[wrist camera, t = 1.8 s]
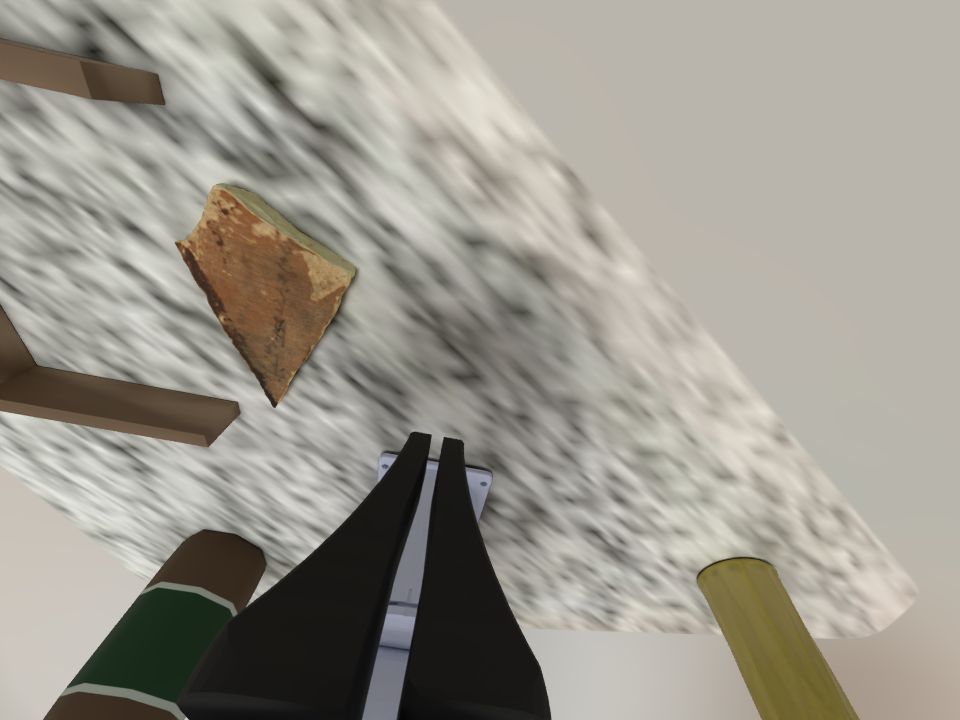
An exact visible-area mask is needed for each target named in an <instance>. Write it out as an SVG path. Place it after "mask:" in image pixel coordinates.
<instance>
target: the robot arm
mask: <svg viewBox="0 0 960 720" xmlns="http://www.w3.org/2000/svg"><path fill="white" fill-rule="evenodd" d="M431 437H432V435H430V434H425V433H419V432H412V433H411V434H410V436H409V438H408V440H407V442H406V444H405V445H404V447H403V449H402V450H401V452H400V453H399V455H395V454H389V453H383V454H381V455H380V458H379V463H378V483H377V485H376V486H375V487H374V489H373V490H372V491H371V492H370V493H369V495H368V496H367V497H366V498H365V499H364V501H363V502H362V503H361V504H360V505H359V506H358V507H357V509H356V510H355V511H354V512H353V513H352V514H351V515H350V516H349V517H348V518H347V519H346V520H345V521H344V522H343V524H342V525H341V526H340V527H339V528H338V529H337V530H336V531H335V532H334V533H333V534H332V535H330V536H329V537H328V538H327V539H326V540H325V541H324V542H323V543H322V544H321V545H320V546H319V547H318V548H317V549H316V550H315V551H314V552H313V553H312V554H310V555H309V556H308V557H307V558H306V559H305V560H304V561H302V562H301V563H300V564H299V565H298V566H297V567H295V568H294V569H293V570H292V571H291V572H290V573H288V574H287V575H286V576H285V577H284V578H283V579H281V580H280V581H279V582H278V583H277V584H275V585H274V586H273V587H272V588H270V589H269V590H268V591H267V592H265V593H264V594H263V595H261V596H260V597H259V598H257V599H256V600H255V601H254V602H252V603H251V604H250V605H248V606H247V607H246V608H244V609H243V610H242V611H241V612H239V613H238V614H237V615H235V616H234V617H233V618H231V619H230V620H229V621H228V622H227V624H226V625H225V626H224V627H223V629H222V630H221V631H220V632H219V634H218V635H217V636H216V637H215V639H214V640H213V642H212V643H211V644H210V646H209V647H208V649H207V650H206V651H205V653H204V654H203V656H202V657H201V659H200V660H199V662H198V663H197V665H196V667H195V669H194V671H193V672H192V674H191V676H190V678H189V679H188V681H187V683H186V685H185V686H184V688H183V690H182V692H181V694H180V695H179V697H178V699H177V705H178V708H179V710H180V711H181V712H182V713H183V714H184V715H185V716H186V717H187V718H188V719H189V720H551V712H550V706H549V700H548V696H547V691H546V686H545V682H544V679H543V674H542V671H541V667H540V665H539V663H538V661H537V659H536V658H535V656H534V654H533V652H532V650H531V648H530V647H529V645H528V643H527V641H526V639H525V637H524V635H523V633H522V631H521V629H520V627H519V625H518V623H517V621H516V619H515V617H514V615H513V613H512V611H511V609H510V607H509V604H508V602H507V600H506V597H505V595H504V593H503V591H502V588H501V586H500V584H499V581H498V579H497V577H496V574H495V572H494V569H493V567H492V564H491V561H490V559H489V556H488V553H487V551H486V548H485V545H484V542H483V539H482V536H481V533H480V529H479V526H478V521H479V518H480V515H481V512H482V509H483V506H484V503H485V500H486V497H487V494H488V491H489V488H490V485H491V482H492V474H491V473H490V472H488V471H484V470H479V469H473V468H468V467H465V460H464V443H463V441H462V440H458V439H452V438H447V437H444V439H443V444H442V449H441V454H440V459H439V462H434V461H428V455H429V449H430V443H431Z"/></svg>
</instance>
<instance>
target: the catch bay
mask: <svg viewBox="0 0 960 720" xmlns="http://www.w3.org/2000/svg"><path fill="white" fill-rule="evenodd" d="M0 79H3V80H7V81H12V82H16V83H21V84H25V85H30V86H34V87H39V88H44V89H48V90H53V91H57V92H62V93H66V94H71V95H75V96H80V97H84V98H89V99H95V100H108V101H120V102H133V103H145V104H158V105H165V104H164V100H163V96H162V92H161V88H160V84H159V80H158V76H157V74H155V73H150V72H146V71H142V70H137V69H133V68H128V67H124V66H119V65H115V64H111V63H106V62H102V61H97V60H93V59H89V58H84V57H80V56H75V55H71V54H67V53H62V52H58V51H53V50H49V49H45V48H40V47H36V46H31V45H27V44H23V43H18V42H14V41H9V40H5V39H1V38H0ZM0 411H3V412H9V413H15V414H21V415H26V416H32V417H38V418H43V419H49V420H55V421H61V422H66V423H72V424H78V425H83V426H89V427H95V428H101V429H106V430H112V431H118V432H123V433H129V434H135V435H141V436H146V437H152V438H158V439H163V440H169V441H175V442H181V443H186V444H192V445H198V446H203V447H209V446H210V445H211V444H212V443H213V442H214V441H215V440H216V439H217V438H218V437H219V435H220V434H221V433H222V432H223V431H224V430H225V429H226V428H227V427H228V426H229V425H230V424H231V423H232V422H233V421H234V420H235V419H236V417H237V416H238V415H239V414H240V411H239V407H238V403H237V402H233V401H227V400H222V399H216V398H211V397H205V396H200V395H194V394H189V393H183V392H178V391H172V390H167V389H161V388H156V387H150V386H145V385H139V384H134V383H128V382H123V381H117V380H112V379H106V378H101V377H95V376H90V375H84V374H79V373H73V372H68V371H62V370H57V369H51V368H46V367H40V366H37V365H36V364H35V362H34V360H33V359H32V357H31V356H30V354H29V352H28V351H27V349H26V347H25V346H24V344H23V342H22V341H21V339H20V337H19V336H18V334H17V333H16V331H15V329H14V328H13V326H12V324H11V323H10V321H9V319H8V318H7V316H6V314H5V313H4V311H3V309H2V308H1V306H0Z"/></svg>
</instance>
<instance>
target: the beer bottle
mask: <svg viewBox="0 0 960 720" xmlns="http://www.w3.org/2000/svg"><path fill="white" fill-rule="evenodd" d="M265 565H266V564H265V561H264V558H263V554H262V551H261V549H259V548H257V547H256V546H254V545H252V544H251V543H249V542H247V541H246V540H244V539H242V538H240V537H239V536H237V535H234V534H227V533H221V532H214V531H208V530H204V531H202V532H200V533H198V534H196V535H194V536H192V537H190V538H188V539H187V540H185V541H184V542H183V543H182V544H181V545H180V546H179V547H178V548H177V550H176V551H175V552H174V553H173V554H172V555H171V556H170V558H169V559H168V560H167V561H166V562H165V564H164V565H163V566H162V567H161V569H160V570H159V571H158V572H157V574H156V575H155V576H154V578H153V579H152V580H151V581H150V583H149V584H148V585H147V586H146V588H145V589H144V590H143V591H142V593H141V594H140V595H139V597H138V598H137V599H136V600H135V602H134V603H133V604H132V606H131V607H130V608H129V609H128V611H127V612H126V613H125V614H124V616H123V617H122V618H121V619H120V621H119V622H118V623H117V625H116V626H115V627H114V628H113V629H112V631H111V632H110V633H109V635H108V636H107V637H106V638H105V640H104V641H103V642H102V643H101V645H100V646H99V647H98V649H97V650H96V651H95V652H94V653H93V655H92V656H91V657H90V659H89V660H88V661H87V662H86V664H85V665H84V666H83V667H82V669H81V670H80V671H79V673H78V674H77V675H76V676H75V678H74V679H73V680H72V681H71V683H70V684H69V685H68V686H67V688H66V689H65V690H64V692H63V693H62V694H61V695H60V697H59V698H58V699H57V701H56V702H55V704H54V705H53V706H52V708H51V709H50V711H49V712H48V713H47V715H46V716H45V718H44V719H43V720H184V719H185V718H186V716H185V715H184V714H183V713H182V712H181V711H180V710H179V708H178V705H177V699H178V697H179V695H180V694H181V692H182V690H183V688H184V686H185V685H186V683H187V681H188V679H189V678H190V676H191V674H192V672H193V671H194V669H195V667H196V665H197V663H198V662H199V660H200V659H201V657H202V656H203V654H204V653H205V651H206V650H207V649H208V647H209V646H210V644H211V643H212V642H213V640H214V639H215V637H216V636H217V635H218V634H219V632H220V631H221V630H222V629H223V627H224V626H225V625H226V624H227V622H228V621H229V620H230V619H231V618H233V617H234V616H235V615H237V614H238V613H239V612H241V611H242V610H243V609H244V608H246V606H247V604H248V602H249V600H250V599H251V597H252V595H253V593H254V591H255V589H256V587H257V585H258V583H259V581H260V579H261V577H262V575H263V573H264V571H265Z"/></svg>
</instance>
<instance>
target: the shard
mask: <svg viewBox="0 0 960 720" xmlns="http://www.w3.org/2000/svg"><path fill="white" fill-rule="evenodd" d="M175 244H176V246H177V248H178V250H179V251H180V253H181V254H182V257H183V260H184V262H185V263H186V265H187V266H188V267H189V269H190V272H191V274H192V276H193V278H194V280H195V281H196V283H197V284H198V286H199V287H200V288H201V289H202V290H203V291H204V292H205V294H206V296H207V300H208V303H209V305H210V307H211V308H212V310H213V312H214V314H215V315H216V317H217V318H218V319H219V321H220V323H221V325H222V327H223V329H224V331H225V333H226V334H227V336H228V337H229V338H230V339H231V341H232V344H233V345H234V346H235V347H236V349H237V351H238V352H239V354H240V356H241V357H242V358H243V360H244V361H245V362H246V364H247V365H248V367H249V368H250V370H251V371H252V372H253V373H254V374H255V376H256V378H257V379H258V381H259V382H260V385H261V387H262V388H263V389H264V392H265V395H266V396H267V398H268V399H269V400H270V402H271V404H272V406H273V407H274V408H276V406H277V405H278V403H279V402H280V401H281V400H282V398H283V396H284V394H285V392H286V391H287V389H288V386H289V384H290V381H291V380H292V379H293V377H294V375H295V373H296V371H297V370H298V368H299V367H300V366H301V365H302V364H303V363H304V362H305V361H306V359H307V358H308V356H309V355H310V353H311V352H312V350H313V347H314V346H315V345H316V344H317V343H318V342H319V340H320V339H321V337H322V335H323V334H324V331H325V329H326V327H327V326H328V325H329V324H330V322H331V320H332V318H333V317H334V316H335V314H336V313H337V310H338V308H339V306H340V304H341V297H342V295H343V293H344V292H345V290H346V288H347V287H348V286H349V285H350V282H351V279H352V278H353V277H354V276H355V272H356V267H355V266H353V265H352V264H350V263H349V262H347V261H345V260H344V259H342V258H340V257H339V256H338V255H336V254H335V253H333V252H332V251H330V250H329V249H327V248H326V247H324V246H322V245H321V244H319V243H318V242H316V241H315V240H314V239H312V238H310V237H308V236H307V235H305V234H304V233H301V232H300V231H299V230H298V229H297V228H295V227H294V226H293V225H292V224H291V223H290V222H288V221H287V220H286V219H285V218H284V217H283V216H281V215H280V214H279V213H278V212H277V211H276V210H274V209H272V208H271V207H269V206H268V205H266V204H265V203H264V202H263V201H262V200H261V199H259V198H258V197H257V196H256V195H255V194H254V193H251V192H247V191H246V190H244V189H239V188H236V187H233V186H230V185H228V184H225V183H221V184H216V185H214V186H213V187H212V190H211V192H210V194H209V196H208V199H207V204H206V206H205V208H204V212H203V214H202V218H201V220H200V221H199V223H198V225H197V227H196V228H195V229H194V230H193V231H192V233H191V234H190V235H189V236H188V238H187V239H185V240H181V241H176V242H175Z"/></svg>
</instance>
